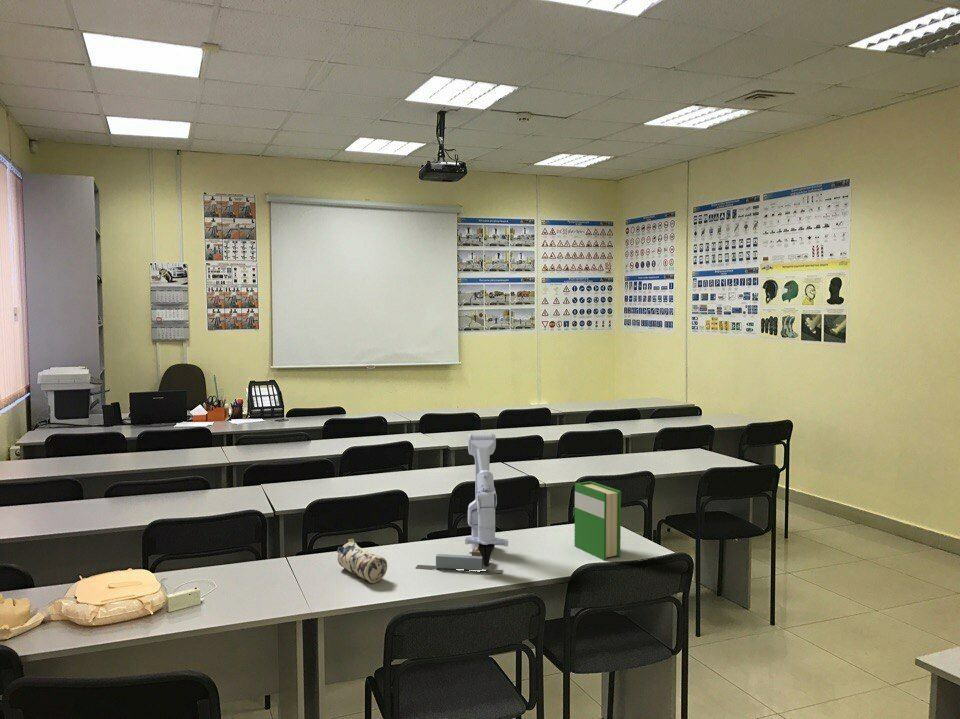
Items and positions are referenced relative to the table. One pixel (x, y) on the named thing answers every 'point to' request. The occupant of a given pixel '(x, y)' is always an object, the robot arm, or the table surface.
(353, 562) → the pencil case
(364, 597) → the table surface
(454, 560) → the slate screen
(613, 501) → the hardback book
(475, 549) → the walnut letter block
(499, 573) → the metal track
